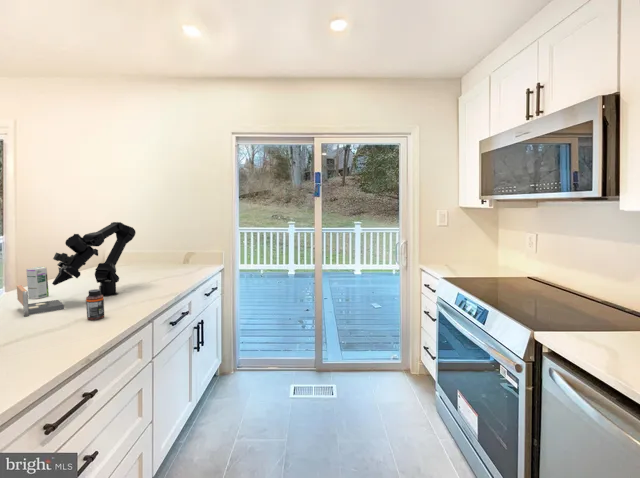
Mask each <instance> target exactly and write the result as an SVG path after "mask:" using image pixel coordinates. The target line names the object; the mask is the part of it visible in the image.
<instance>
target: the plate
mask: <svg viewBox="0 0 640 478" xmlns="http://www.w3.org/2000/svg"><path fill="white" fill-rule="evenodd" d="M22 307H23V317H29V316H30V315H35V314H42V313H47V312H48V313H49V312H56V311H61V310H62V311H63V310H65V305H64V303H63V302H61V300H59V299H54V300H47V301H39V302H33V303H29V297H28V290H27V291H23V305H22Z"/></svg>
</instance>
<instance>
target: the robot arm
mask: <svg viewBox="0 0 640 478" xmlns="http://www.w3.org/2000/svg"><path fill="white" fill-rule="evenodd" d="M114 234H115V237H116V240H115V242H114V243H113V246H112V248H111V250H110V252H109V254H108V256H107V257H106V259H105V261H103V262H99V263H98V264H97V266H96V268H95V269H94V270H95V272H94V278H95V280H96V283H99V285H98V289H99V290H100V292H101V293H100V294H101V295H103V297H106V296H111V295H112V296H113V295H118V292H117V283H118V282H119V280H120V277H119V275H118V274H117V267H116V265H117V263H118V261H119V259H120V257H121V255H122V253H123V251H124V249H125V248H126V245H127V244H128V243H129V242H131V241H132V240H133V239H134V237H135V236H136V229H134V227H132V226H129V225H128V224H127V225H126V224H124V223H123V222H121V221H120V222H118V221H116V222H115V221H112V222H111V223H110V224H108V225H106V226H105V227H103V228H101V229H100V230H97V231H96V232H95V231H94V232H89V233H86V234H84V235H83V236H81V235H80V234H79V233H73V235H71V236H70V237H68V238H66V240H65V243H64V244H65V245H66V247H67V248H69V249H70V250H72V252H73V253H74V254H71V255H70V256H69V255H68V253H66V252H65V253H64V252H62V253H60V252H59V253H58V252H55V253H54V257H53V258H52V260H54V261H56V262H59V263H57V265H56V266H58V273H57V274H56V277H54V280H53V282H52V283H51V284H52V285H53V286H56V285H59V284H61V283H64V282H66V281H68V280H71V279H73V278H74V277H75V279H79V277H81V271H80V269H81V268H82V267H83V266H85V265H86V263H87V262H88V261H89V260H90V259H91V258H92V257H93V256H94V255H95V256H96V257H99V250H98V249H96V248H94V247H100V246H101V245H102V244H104V242H105V239H107V238H108V237H110V236H112V235H114Z"/></svg>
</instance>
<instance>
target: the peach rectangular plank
mask: <svg viewBox="0 0 640 478" xmlns="http://www.w3.org/2000/svg"><path fill="white" fill-rule="evenodd" d="M23 291H28V289H26V288H25V287H24V286H23V285H19V284H18V285H16V294H17V296H16V297H17V298H16V299H17V301H18V302H19V303H20V304H21V306H23Z"/></svg>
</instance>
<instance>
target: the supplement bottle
mask: <svg viewBox="0 0 640 478" xmlns="http://www.w3.org/2000/svg"><path fill="white" fill-rule="evenodd" d="M100 293H101V292H100V290H99V288H98V289H95V288H94V289H90V290H88V296H86V298H85V303H86V306H85V307H86V318H87V320H89V321H97V320H101V319H103V318H104V317H105V306H104V305H105V302H104V296H103V295H101V294H100Z"/></svg>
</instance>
